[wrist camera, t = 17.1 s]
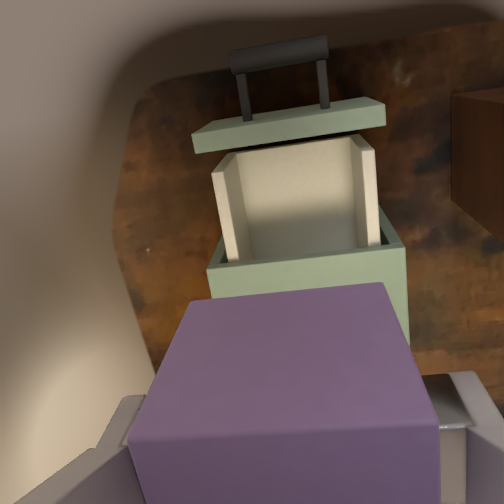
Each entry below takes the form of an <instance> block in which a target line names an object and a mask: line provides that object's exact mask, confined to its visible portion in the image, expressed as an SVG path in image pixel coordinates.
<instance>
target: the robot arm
mask: <svg viewBox="0 0 504 504" xmlns="http://www.w3.org/2000/svg"><path fill="white" fill-rule="evenodd" d="M421 377H422V380H423V382H424V385H425V387H426V390H427V392H428V395H429V397H430V400H431V402H432V404H433V407H434V409H435V412H436V414H437V417H438V419H439V425H440V478H441V504H504V419H503V417H502V416H501V414H500V412H499V411H498V409H497V407H496V406H495V404H494V402H493V401H492V399H491V397H490V396H489V394H488V392H487V391H486V389H485V387H484V386H483V384H482V382H481V381H480V379H479V377H478V376H477V374H476V373H475V372H474V371H472V370H469V371H459V372H449V373H447V374H436V375H423V376H421ZM146 396H147V395H131V396H126V397H124V398H123V399H122V400H121V402H120V404H119V405H118V408H117V409H116V411H115V413H114V415H113V417H112V418H111V420H110V422H109V424H108V426H107V428H106V430H105V432H104V433H103V435H102V437H101V439H100V441H99V443H98V444H97V446H96V448H89V449H88V450H86V451H85V452H84V453H82V454H81V455H79V456H78V457H77V458H76V459H74V460H73V461H71V462H70V463H69V464H67V465H66V466H65V467H63V468H62V469H60V470H59V471H58V472H57V473H55V474H54V475H52V476H51V477H49V478H48V479H47V480H45V481H44V482H43V483H42V484H40V485H39V486H37V487H36V488H35V489H33V490H32V491H30V492H29V493H28V494H26V495H25V496H24V497H22V498H21V499H19V500H18V501H17V502H16V503H14V504H146V501H145V498H144V495H143V491H142V488H141V485H140V482H139V479H138V476H137V473H136V470H135V466H134V463H133V460H132V457H131V454H130V451H129V448H128V444H127V437H128V434H129V432H130V430H131V428H132V426H133V424H134V421H135V419H136V417H137V415H138V413H139V411H140V409H141V406H142V404H143V402H144V400H145V398H146Z"/></svg>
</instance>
